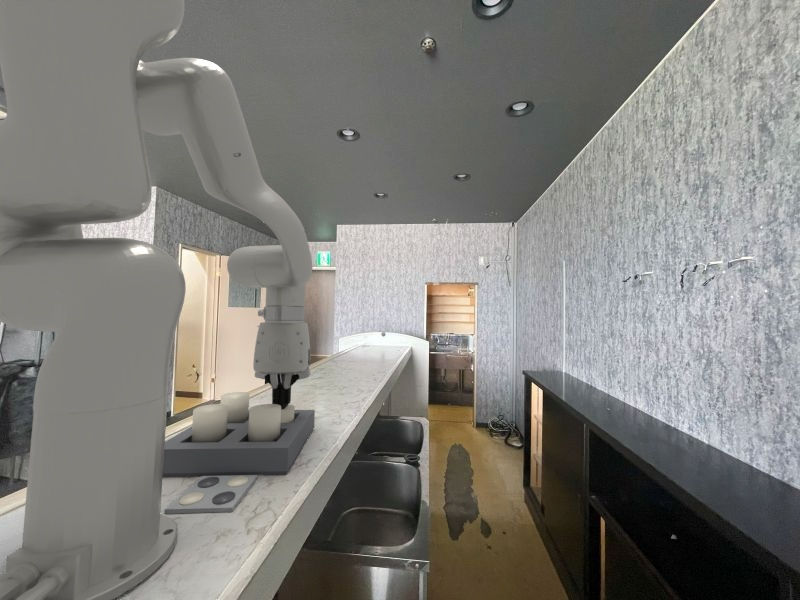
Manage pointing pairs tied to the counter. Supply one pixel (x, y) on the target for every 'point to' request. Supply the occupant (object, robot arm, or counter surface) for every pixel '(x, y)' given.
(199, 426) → the button near left
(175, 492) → the counter surface
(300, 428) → the board
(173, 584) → the counter surface
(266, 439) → the button near right
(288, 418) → the button far right
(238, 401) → the button far left
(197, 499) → the tile
